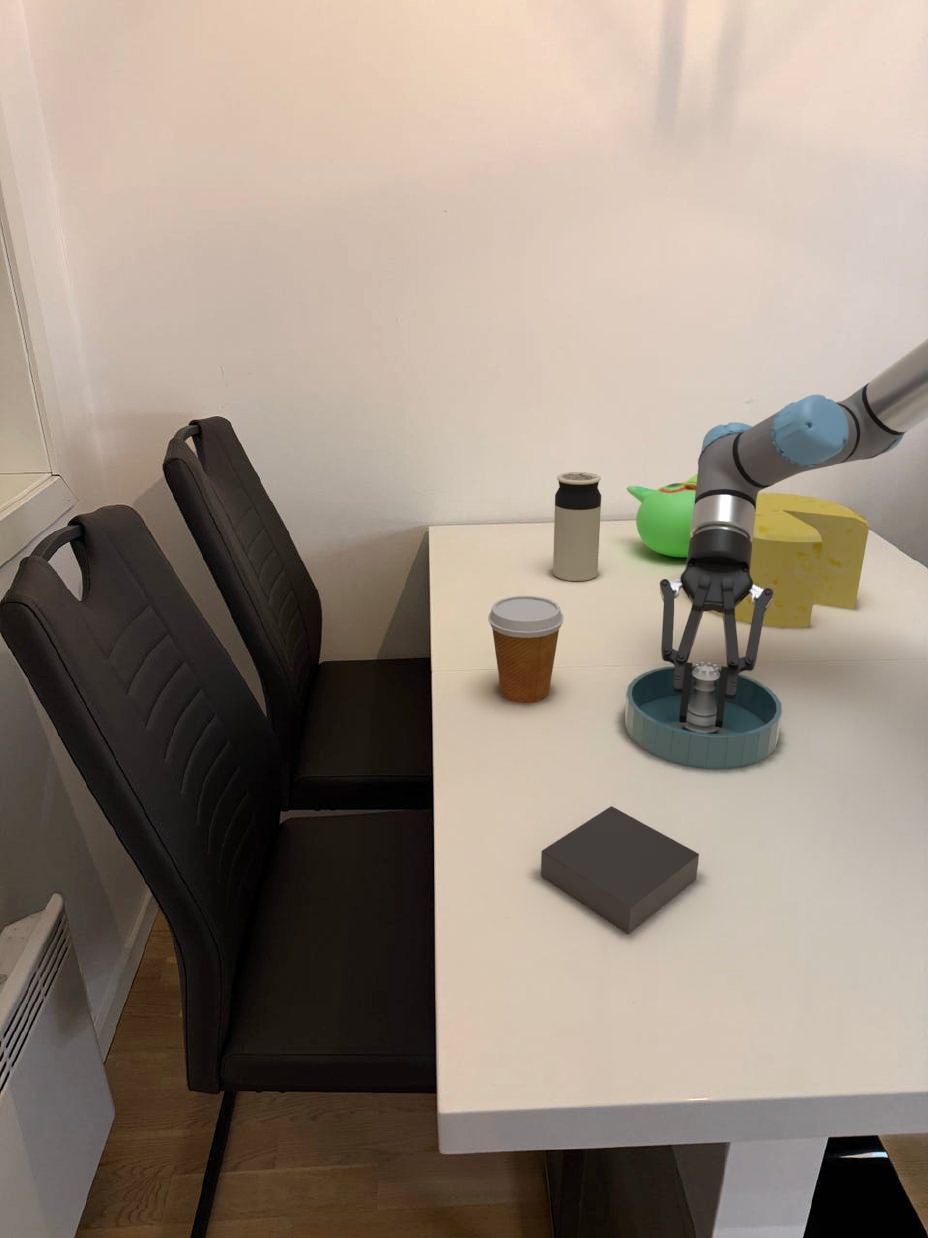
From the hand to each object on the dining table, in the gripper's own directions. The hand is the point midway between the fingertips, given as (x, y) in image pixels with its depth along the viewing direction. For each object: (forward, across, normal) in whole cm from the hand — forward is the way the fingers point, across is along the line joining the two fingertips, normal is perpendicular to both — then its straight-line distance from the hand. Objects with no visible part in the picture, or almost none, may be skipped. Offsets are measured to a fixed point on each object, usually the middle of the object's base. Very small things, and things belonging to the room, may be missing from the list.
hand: (700, 721), depth 96 cm
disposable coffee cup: (-3, +22, -8) cm, 24 cm away
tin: (0, 0, -5) cm, 5 cm away
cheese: (-34, -8, -39) cm, 52 cm away
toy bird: (-48, +8, -52) cm, 71 cm away
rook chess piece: (-1, 0, -5) cm, 5 cm away
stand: (+20, +6, +16) cm, 26 cm away
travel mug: (-36, +25, -40) cm, 59 cm away
